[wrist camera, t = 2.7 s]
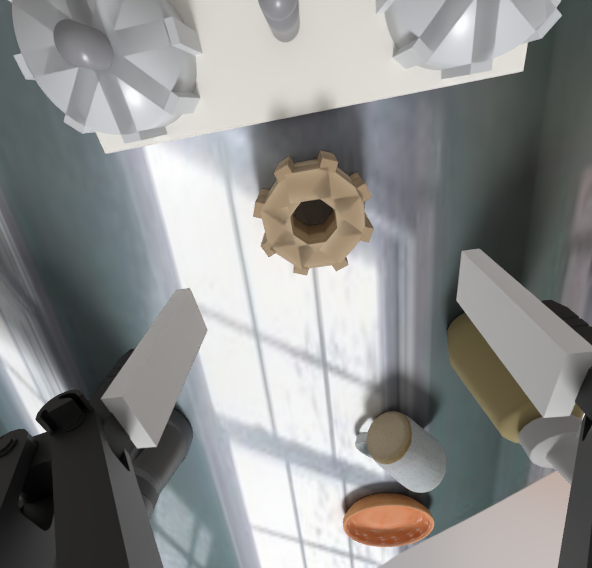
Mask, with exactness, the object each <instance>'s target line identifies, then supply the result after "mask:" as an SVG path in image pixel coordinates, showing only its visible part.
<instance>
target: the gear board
mask: <svg viewBox="0 0 592 568" xmlns="http://www.w3.org/2000/svg"><path fill="white" fill-rule="evenodd" d="M9 1H10V2H12V17H13V24H14V30H15V34H16V38H17V42H18V45H19V48H20V50H21V54H17V55H13V56H14V57H15V59H16V61H17V63H18V65H19V67H20V69H21V71H22V73H23V75H24V77H25V79H27V80H36V82H37V83H38V85H39V86H40V88H41V89H42V90H43V91H44V93H45V94H46V95H47V96H48V98H49V99H50V100H51V101H52V102H53V103H54V104H55V105H56V106H57V107H58V108H59V109H61V110H62V111H63V112H64V113H65V114H66V115H65V119H64V122H65V123H66V124H68V125H69V126H71V127H73V128H74V129H76V130H77V131H79V132H80V133H82V134H84V133H91V132H96V134H97V136H98V138H99V141H100V143H101V145H102V147H103V149H104V152H105V154H107V153H112V152H117V151H122V150H127V149H133V148H138V147H143V146H148V145H153V144H158V143H163V142H168V141H173V140H178V139H183V138H188V137H193V136H198V135H203V134H208V133H213V132H218V131H224V130H229V129H234V128H239V127H244V126H249V125H254V124H259V123H264V122H269V121H274V120H279V119H284V118H289V117H294V116H299V115H304V114H310V113H315V112H320V111H325V110H330V109H335V108H340V107H345V106H350V105H355V104H360V103H365V102H370V101H375V100H380V99H385V98H390V97H395V96H401V95H406V94H411V93H416V92H421V91H426V90H431V89H436V88H441V87H446V86H451V85H456V84H461V83H466V82H471V81H476V80H481V79H486V78H492V77H497V76H502V75H507V74H512V73H517V72H522V71H523V69H524V63H525V57H526V51H527V44H528V42H530V41H534V40H538V39H541V38H543V36H544V35H545V34H546V33H547V32H548V31H549V30H550V28H551V27H552V26H553V25H554V24H555V23H556V22H557V21H558V19H559V18H560V17H561V16H562V15H561V13H560V12H559V11H558V10H557V8H556V7H557V6H558V4H559V3H560V1H561V0H9Z"/></svg>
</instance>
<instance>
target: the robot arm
mask: <svg viewBox="0 0 592 568" xmlns="http://www.w3.org/2000/svg"><path fill="white" fill-rule="evenodd" d="M456 301H457V302H458V303H459V305H460V306H461V308H462V309H463V310H464V312H465V313H466V314H467V316H468V317H469V318H470V320H471V321H472V322H473V324H474V325H475V326H476V328H477V329H478V330H479V332H480V333H481V334H482V336H483V337H484V338H485V340H486V341H487V343H488V344H489V345H490V347H491V348H492V349H493V351H494V352H495V353H496V355H497V356H498V357H499V359H500V360H501V361H502V363H503V364H504V365H505V367H506V368H507V369H508V371H509V372H510V373H511V375H512V376H513V378H514V379H515V380H516V382H517V383H518V384H519V386H520V387H521V388H522V390H523V391H524V392H525V394H526V395H527V396H528V398H529V399H530V400H531V402H532V403H533V404H534V406H535V407H536V408H537V410H538V411H539V413H540V414H541V415H542V417H543V418H549V417H562V416H570V414H571V412H572V410H573V408H574V405H575V403H576V404H577V405H578V406H579V407H580V409H581V410H582V411H583V412H584V413H585V416H584V418H583V420H582V422H581V424H580V426H579V428H578V430H577V433H576V435H575V436H576V437H578V438H579V442H578V448H577V454H576V460H575V466H574V473H573V479H572V485H571V491H570V497H569V503H568V509H567V515H566V521H565V528H564V533H563V539H562V545H561V551H560V558H559V564H558V568H592V327H591V326H590V327H589V324H587V323H586V322H585V321H584V320H582V319H579V316H577V315H576V314H575V313H574V312H572V311H571V310H570V309H569V308H567V307H565V306H563V305H561V304H559V303H557V302H555V301H552V300H545V301H540V300H539V299H537V298H536V297H535V296H534V295H533V294H532V293H530V292H529V291H528V290H527V289H526V288H525V287H523V286H522V285H521V284H520V283H519V282H518V281H516V280H515V279H514V278H513V277H512V276H511V275H510V274H508V273H507V272H506V271H505V270H504V269H503V268H501V267H500V266H499V265H498V264H497V263H496V262H494V261H493V260H492V259H491V258H490V257H489V256H488V255H486V254H485V253H484V252H483V251H482V250H481V249H472V250H465V251H462V253H461V262H460V271H459V281H458V290H457V299H456ZM206 332H207V328H206V326H205V323H204V321H203V318H202V316H201V313H200V311H199V309H198V306H197V304H196V301H195V299H194V296H193V294H192V291H191V289H190V288H188V289H180V290H176V291H175V292H174V294H173V295H172V297H171V298H170V299H169V301H168V302H167V304H166V305H165V307H164V308H163V310H162V311H161V312H160V314H159V315H158V317H157V318H156V320H155V321H154V322H153V324H152V325H151V327H150V328H149V330H148V331H147V333H146V334H145V335H144V337H143V338H142V340H141V341H140V343H139V344H138V346H137V347H136V348H135V349H130V350H129V351H128V352H127V353H126V354H125V355H123V356H122V357H121V358H120V359H119V360H118V362H117V363H116V365H115V366H114V367H113V370H111V372H110V373H109V374H108V376H107V378H105V380H104V381H103V383H102V384H101V385H100V387H99V388H98V389H97V391H96V392H95V394H94V395H93V396H92V398H91V399H90V400H89V402H88V401H87V399H86V398H85V397H84V395H83V394H82V393H81V392H80V391H79V390H70V391H66V392H64V393H61V394H59V395H57V396H56V397H54V398H53V399H51V400H50V401H48V402H47V403H46V404H45V405H44V406H43V407H42V408H41V409H40V411H39V412H38V413H37V416H36V419H35V420H36V421H37V422H38V423H39V424H40V425H41V426H42V427H43V428H44V429H45V430H46V431H47V432H45V433H42V434H39V435H36V436H34V437H32V436H31V435H30V434H29V433H28V432H27V431H26V430H25V429H17V430H14V431H11V432H9V433H7V434H5V435H3V436H1V437H0V568H163V565H162V561H161V558H160V555H159V552H158V548H157V545H156V542H155V538H154V535H153V532H152V528H151V525H150V519H151V516H152V513H153V511H154V508H155V505H156V503H157V500H158V497H159V495H160V493H161V491H162V490H163V488H164V487H165V486H166V484H167V483H168V481H169V480H170V478H171V477H172V475H173V474H174V473H175V471H176V469H177V468H178V466H179V465H180V463H181V462H182V461H183V460H184V459H185V457H186V455H187V453H188V450H189V448H190V445H191V442H192V438H193V432H192V428H191V426H190V424H189V422H188V421H187V420H186V419H185V417H184V416H183V415H182V414H180V413H179V412H178V411H177V410H175V409H174V406H175V404H176V401H177V399H178V397H179V394H180V392H181V390H182V387H183V385H184V383H185V381H186V378H187V376H188V374H189V371H190V369H191V367H192V364H193V362H194V360H195V358H196V355H197V353H198V351H199V348H200V346H201V344H202V342H203V339H204V337H205V335H206Z"/></svg>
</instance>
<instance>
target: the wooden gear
mask: <svg viewBox="0 0 592 568" xmlns="http://www.w3.org/2000/svg"><path fill="white" fill-rule="evenodd" d="M337 165H338V161H337V159H336V157H335V155H334V153H331V152H327V151H323V150H319V154H318V159H313V160H307V161H302V162H296V163H294V162H293V160H292V158H291V157H290V155H289V156H288V157H286V158H285V159H284V160H282V161H281V162H279V163H278V165H277V167H276V169H275V171H274V175H275V177H276V178H277V180H276V182H275V183H274V185H273V186H272V188H271V189H270V190H269V189H265V188H262V190H261V192H260V194H259V196H258V198H257V200H256V202H255V208H254V214H253V217H257V218H262V220H263V224H264V229H265V233H264V237H263V240H262V243H261V247H262V249H263V250H264V251H265V253H266V254H267V255H268V257H270V256H272V255H273V254H275V253H276V254H278V255H280V256H281V257H283V258H284V259H286V260H287V261H289V262H291V263H292V264H294V273H298V274H302V275H307V273H308V270H309V268H315V267H322V266H329V265H332V266H333V267H334V269H335V270H336V271H338V270H340V269H342V268H343V267H345V266H347V265H348V261H347V258H346V256H347V255H348V254H349V253H350V252H351V250H352V249H353V248H354V247H355V246H356V245H357V244H358V242H359V241H360V240H361V241H365V242H369V240H370V237H371V235H372V232H373V229H374V228H373V226H372V225H371V223H370V221H369V219H368V217H367V215H366V214H365V212H364V202H365V201H366V200H368V199H370V198H371V197H372V196H371V194H370V192H369V190H368V188H367V186H366V184H365V182H364V181H363V180H362V178H361V177H360V176H359V174H358V173H357V172H355V173H353V174H352V175H350V176H348V175H347V174H346V173H344V172H343V171H342V170H341V169H339V168H338V167H337ZM316 199H321V200H322V201H324V202H325V203H326V204H328V205H329V206H331V207H332V208H333V211H332V213H331V214H330V215H329V217H328V218H327V219H326V220H325V222H324V223H323V224H317V225H310V226H307V225H306V224H304V223H303V222H301V221H300V220H298V219H297V218H295V215H294V211H295V210H296V208H297V207H298V205H299V204H300V203H301V202H304V201H310V200H316Z"/></svg>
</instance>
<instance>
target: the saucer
mask: <svg viewBox="0 0 592 568" xmlns="http://www.w3.org/2000/svg"><path fill="white" fill-rule="evenodd" d="M433 527H434V520H433V517H432V515H431V513H430V511H429V510H428V509H427V508H426V507H424V506H423V505H422V504H421V503H419V502H417V501H416V500H414V499H413V498H411V497H409V496H406V495H402V494H395V493H381V494H374V495H370V496H367V497H364V498H362V499H360V500H358V501H357V502H355V503H354V504H353V505H352V507H351V508H350V509H349V510H348V511H347V513H346V514H345V516H344V519H343V528H344V531H345V533H346V534H347V535H348V536H349V537H350V538H351V539H353V540H355V541H357V542H359V543H362V544H365V545H370V546H377V547H394V546H402V545H406V544H410V543H413V542H416V541H418V540H420V539H422V538H424V537H426V536H427V535H428V534H429V533H430V532H431V531H432V529H433Z"/></svg>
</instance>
